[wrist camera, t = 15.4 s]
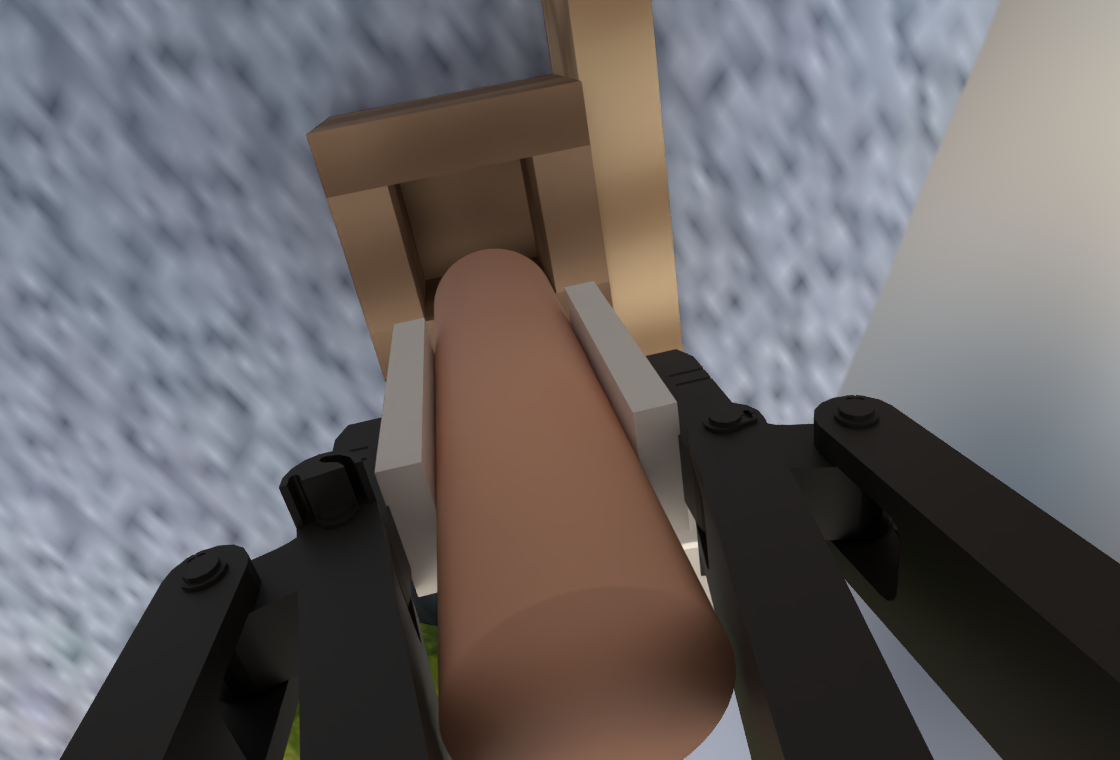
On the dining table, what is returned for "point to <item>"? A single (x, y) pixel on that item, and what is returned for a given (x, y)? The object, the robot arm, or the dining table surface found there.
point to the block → (461, 193)
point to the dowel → (554, 547)
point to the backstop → (624, 155)
